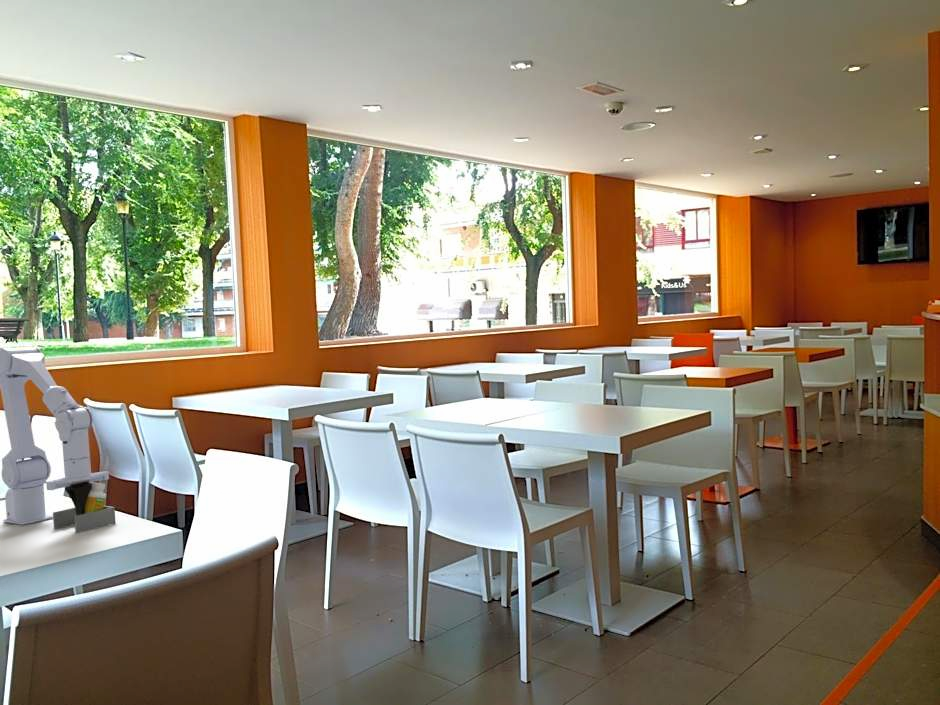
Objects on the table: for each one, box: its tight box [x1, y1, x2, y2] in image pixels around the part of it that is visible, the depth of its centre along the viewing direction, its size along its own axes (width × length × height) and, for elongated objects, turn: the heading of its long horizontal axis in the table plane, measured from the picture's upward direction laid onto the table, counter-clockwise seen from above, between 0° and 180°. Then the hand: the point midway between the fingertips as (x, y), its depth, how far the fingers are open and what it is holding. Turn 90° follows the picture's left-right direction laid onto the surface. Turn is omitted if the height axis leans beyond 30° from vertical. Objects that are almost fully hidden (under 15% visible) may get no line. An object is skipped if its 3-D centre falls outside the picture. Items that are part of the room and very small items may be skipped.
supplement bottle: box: [85, 482, 107, 513], centre depth 196 cm, size 5×5×10 cm
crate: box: [52, 505, 116, 534], centre depth 194 cm, size 10×10×4 cm
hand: (81, 514), depth 193 cm, fingers closed, pressing on supplement bottle
